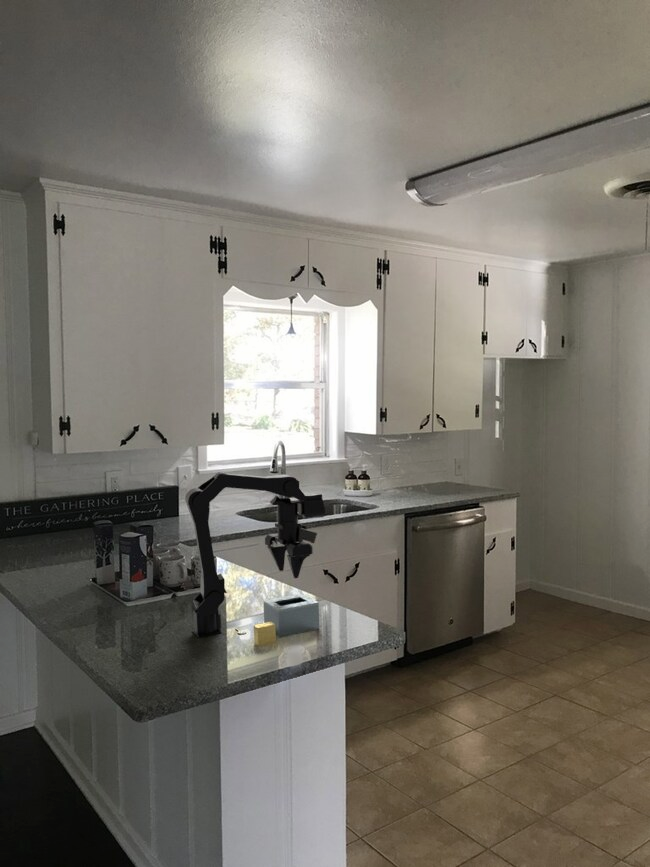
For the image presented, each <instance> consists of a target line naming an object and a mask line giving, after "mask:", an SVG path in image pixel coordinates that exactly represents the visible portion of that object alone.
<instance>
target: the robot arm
mask: <svg viewBox="0 0 650 867" xmlns="http://www.w3.org/2000/svg"><path fill="white" fill-rule="evenodd" d="M226 488H228V489H230V488H231V489H240V490H241V489H242V490H252V491H264V492H268V493H272V494H275V495H274V497H273V498H272V499H271V500H270V501H269V503H270V504H271V505H272V506H277V509H276V510H277V511H276V512H277V518H276V519H277V522H274V527H275V528H277V533H272V534H267V535H266V536H265V537H264V545H266V546H267V548H266V549H268V550H269V552H270V554H271V556H272V558H273V561H274V562H275V565H276V566H277V568H278V571H279V572H283V571H284V569H285V561H286V560H285V559H286V558H285V557H286V556H287V561H288V563H289V567H290V570H291V574H292V576H293V578H294V579H298V578H299V575H300V573H301V569H302V566H303V563H304V561H305V559H306V558H308V557H311V555H313V554H314V553H313V552H314V550H313V546H312V545H311V544H316V543H315V542H316V538H317V535H318V532H315V531H312V530H310V529H308V528H307V525H304V524H301V523H300V522H299V517H298V515H299V516H302V519H317V518H318V519H319V518H324V516H325V514H326V513H325V512H326V506H325V503H324V500H323V494H322V493H315V494H305V493H304V492H303V491H302V489H301V488H300V483H299V480H298V479H297V478H296V477H294V476H292V475H289V474H287V473H286V474H276V475H275V474H274V475H269V476H261V475H260V476H258V475H251V474H250V475H247V474H239V473H237V474H236V473H226V472H223V471H219V472H216V473H215V474H214V475H213V476H212V477H210V478H209V479H208V480H206V481H204V482H203V483H201V484H200V485H199V486H198V487H194V488H190V489H189V490H188V491H187V493H186V494H185V496H184V498H185V499H184V500H185V504H186V506H187V509H188V513H189V516H190V517H191V520H192V522H193V526H194V532H195V538H196V544H197V545H196V546H197V551H198V557H199V564H200V569H201V575H200V587H199V589H200V591H199V593H198V594H197V595H196V596H195V597H194V598H193V599H192V602H193V604H194V607H195V608H196V609H195V610H193V611H192V613H193V614H192V616H193V628H192V629H191V630H192V631H191V632H192V633H194V634H195V635H196V636H197V637H198V638H205V637H209V636H213V635H214V636H215V635H218V634H219V635H220V634H222V632H223V631H222V621H221V620H222V619H221V618H222V617H221V613H220V612H219V610H220V609H219V607H220V605H222V604H223V602H224V601H225V598H226V594H227V593H228V592H227V590H226V587H225V586H226V584H225V583H226V582H225V580H226V579H225V578H224V576H223V575H222V573H218V572H217V570H216V569H217V567H216V563H215V562H216V561H215V556H214V550H213V544H212V537H211V531H210V524H209V520H210V508H211V506H210V505H211V504H210V503H211V502H212V501H214V499H215V498H217V496H218V495H219V494H220V493H221V492H223V490H225V489H226ZM278 495H279V496H282V497H279V496H278ZM291 498H294V499H295V500H292V499H291ZM306 541H307V542H306ZM308 542H309V543H308ZM286 552H287V555H286Z"/></svg>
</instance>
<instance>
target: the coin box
mask: <svg viewBox="0 0 650 867" xmlns="http://www.w3.org/2000/svg"><path fill="white" fill-rule="evenodd" d="M319 603H320V602H318V600H315V599H314V598H312V597H309V596H308V595H306V594H304V593H298V594H292V595H287V596H281V597H277V598H272V599H270V598H269V599H265V600H263V621H264V622H263V623H267V622H272V623H274V624H275V631H276V637H278V638H282V637H286V636H287V637H288V636H292V635H297V634H301V633H306V632H310V631H312V632H313V631H316V630H319V629H320V606H319V605H320V604H319Z"/></svg>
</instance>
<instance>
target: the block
mask: <svg viewBox="0 0 650 867" xmlns="http://www.w3.org/2000/svg"><path fill="white" fill-rule="evenodd" d="M276 638H277V635H276V631H275V624H274V623H272V622H267V623H264V622H263V623H258V624H254V625H253V639H254V642H253V643H254V645H255V646H256V647H263V646H269V645H273V644H276V643H277V639H276Z"/></svg>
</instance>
